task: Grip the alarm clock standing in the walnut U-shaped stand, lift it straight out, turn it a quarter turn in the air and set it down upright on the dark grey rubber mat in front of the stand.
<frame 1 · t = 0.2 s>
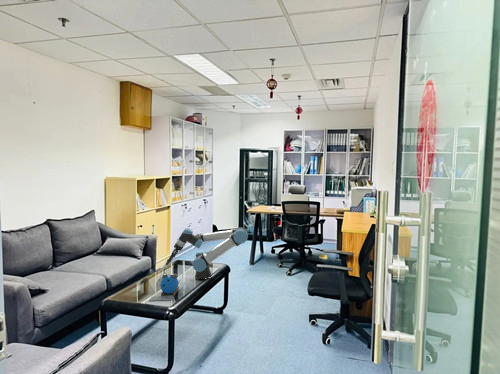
hand: (166, 265, 286), 16 cm above the table, tool tilted 35°, fingers open, 13 cm apart
rubber mat: (161, 298, 250), on the table
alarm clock: (169, 293, 261), resting in clock stand
clock stand: (170, 293, 262), on the table
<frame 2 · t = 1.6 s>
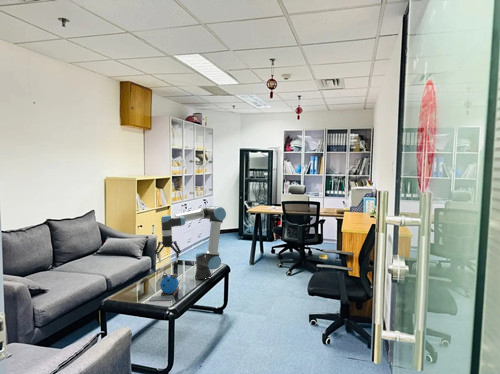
hand: (168, 262, 261), 25 cm above the table, tool pointing down, fingers open, 13 cm apart
nothing on the table moved.
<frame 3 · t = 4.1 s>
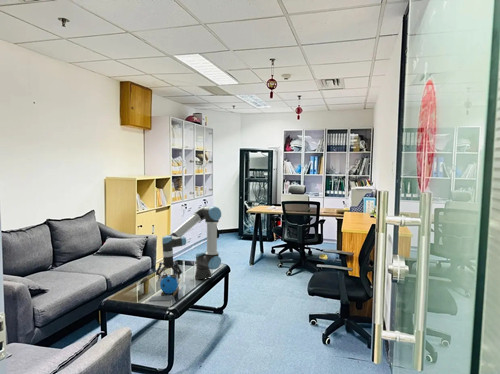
hand: (169, 283, 261), 8 cm above the table, tool pointing down, fingers closed on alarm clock, 13 cm apart
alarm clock: (169, 293, 261), resting in clock stand, touching gripper
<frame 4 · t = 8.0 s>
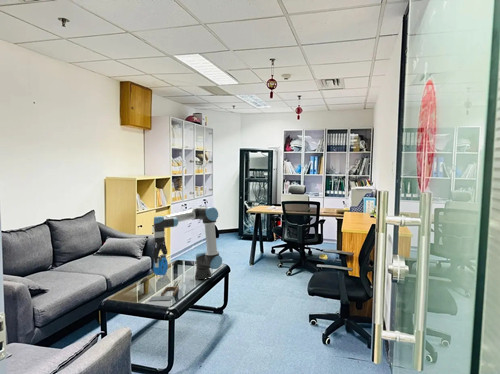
hand: (160, 264, 251), 25 cm above the table, tool pointing down, fingers closed on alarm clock, 13 cm apart
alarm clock: (161, 275, 251), point 17 cm above the table, touching gripper
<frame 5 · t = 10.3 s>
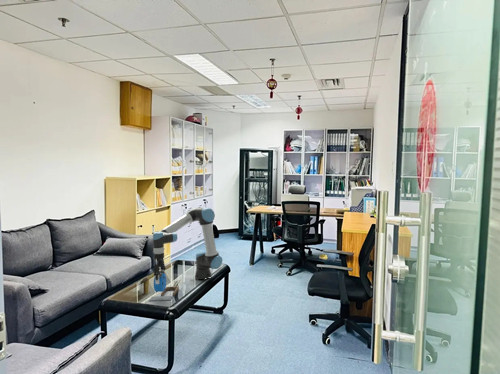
hand: (160, 281, 250), 13 cm above the table, tool pointing down, fingers closed on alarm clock, 13 cm apart
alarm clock: (160, 291, 250), point 6 cm above the table, touching gripper
when the fingers open (10 cm above the table, at t = 12.2 s): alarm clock drops 2 cm, resting on rubber mat.
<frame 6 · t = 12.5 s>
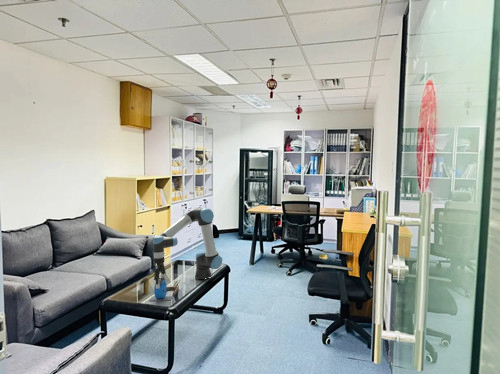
hand: (160, 285, 250), 10 cm above the table, tool pointing down, fingers open, 13 cm apart
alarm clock: (161, 298, 250), resting on rubber mat
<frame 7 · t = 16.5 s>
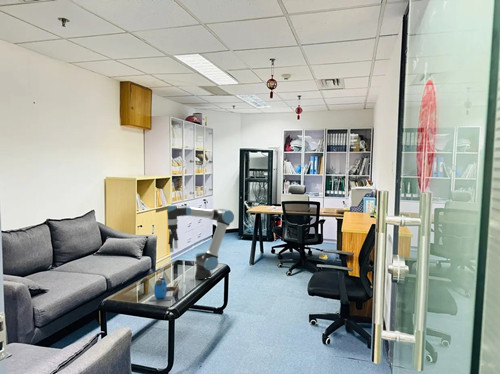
hand: (173, 250, 271), 32 cm above the table, tool pointing down, fingers open, 13 cm apart
nothing on the table moved.
at the end: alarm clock inside the target area on the rubber mat (0.0 cm from its centre), point 0.4 cm above the rubber mat's base; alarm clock tilted 0°; the gripper is holding nothing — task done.
